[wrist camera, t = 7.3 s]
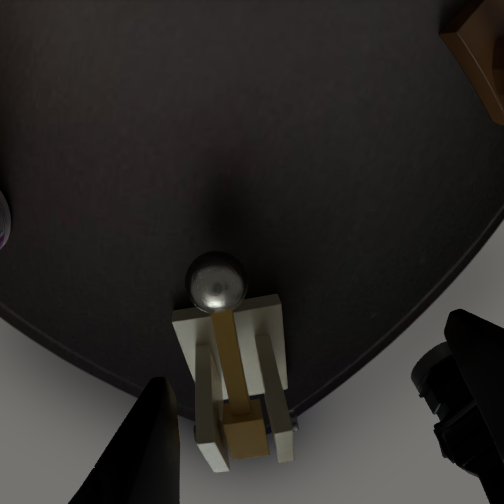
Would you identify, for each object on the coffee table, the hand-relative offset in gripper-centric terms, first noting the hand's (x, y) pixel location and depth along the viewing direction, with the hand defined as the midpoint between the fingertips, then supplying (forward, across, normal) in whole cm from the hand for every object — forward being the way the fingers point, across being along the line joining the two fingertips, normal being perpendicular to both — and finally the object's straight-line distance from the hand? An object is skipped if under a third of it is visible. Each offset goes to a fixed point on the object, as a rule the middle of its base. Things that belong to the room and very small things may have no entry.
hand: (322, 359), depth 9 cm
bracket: (+11, +3, +10) cm, 15 cm away
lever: (+7, +3, +6) cm, 10 cm away
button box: (+11, -19, -11) cm, 25 cm away
